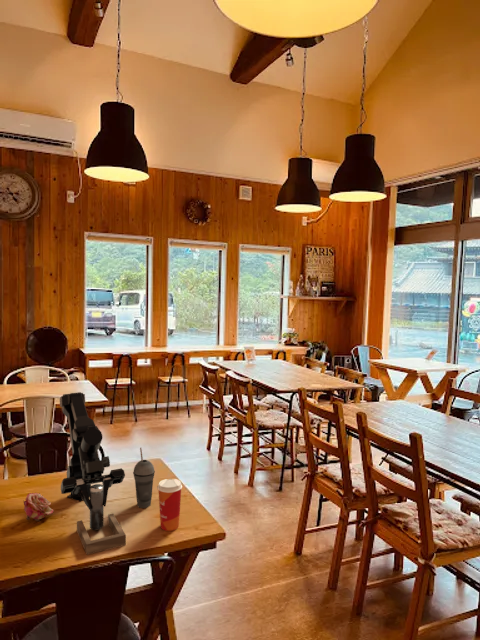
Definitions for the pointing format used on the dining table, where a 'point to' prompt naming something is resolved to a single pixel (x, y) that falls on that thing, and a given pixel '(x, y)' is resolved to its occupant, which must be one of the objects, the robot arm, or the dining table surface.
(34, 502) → the flower
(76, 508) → the dining table surface
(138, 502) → the beverage cup
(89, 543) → the frame
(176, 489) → the paper cup
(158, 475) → the dining table surface
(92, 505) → the pepper mill
